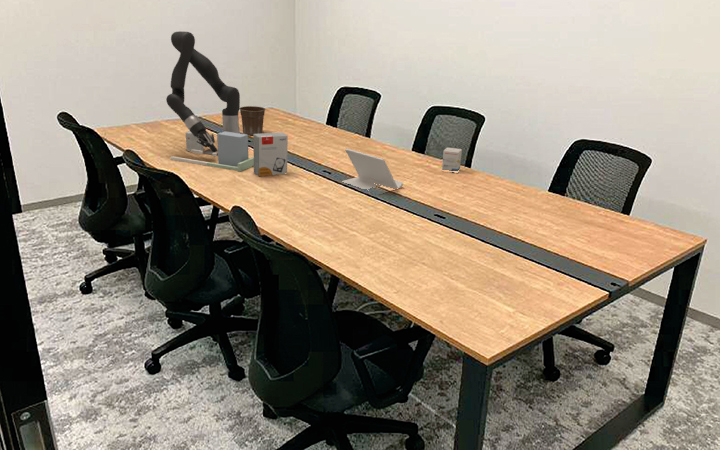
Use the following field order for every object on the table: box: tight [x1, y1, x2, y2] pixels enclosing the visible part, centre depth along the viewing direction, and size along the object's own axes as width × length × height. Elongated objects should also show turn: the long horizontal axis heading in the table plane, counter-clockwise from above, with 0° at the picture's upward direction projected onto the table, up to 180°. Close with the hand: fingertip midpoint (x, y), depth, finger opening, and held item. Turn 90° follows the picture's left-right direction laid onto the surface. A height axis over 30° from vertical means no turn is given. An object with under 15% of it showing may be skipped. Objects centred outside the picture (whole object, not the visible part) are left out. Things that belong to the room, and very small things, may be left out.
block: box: [216, 131, 250, 167], centre depth 303 cm, size 7×14×16 cm, turn 68°
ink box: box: [441, 147, 463, 171], centre depth 309 cm, size 9×8×12 cm
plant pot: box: [239, 105, 266, 136], centre depth 370 cm, size 16×16×16 cm
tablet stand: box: [342, 148, 404, 191], centre depth 279 cm, size 18×25×17 cm
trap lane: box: [169, 148, 254, 173], centre depth 311 cm, size 26×44×4 cm, turn 68°
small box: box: [185, 130, 205, 152], centre depth 327 cm, size 8×6×10 cm
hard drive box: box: [252, 132, 289, 177], centre depth 290 cm, size 16×8×20 cm, turn 117°
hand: (215, 151), depth 308 cm, fingers closed
